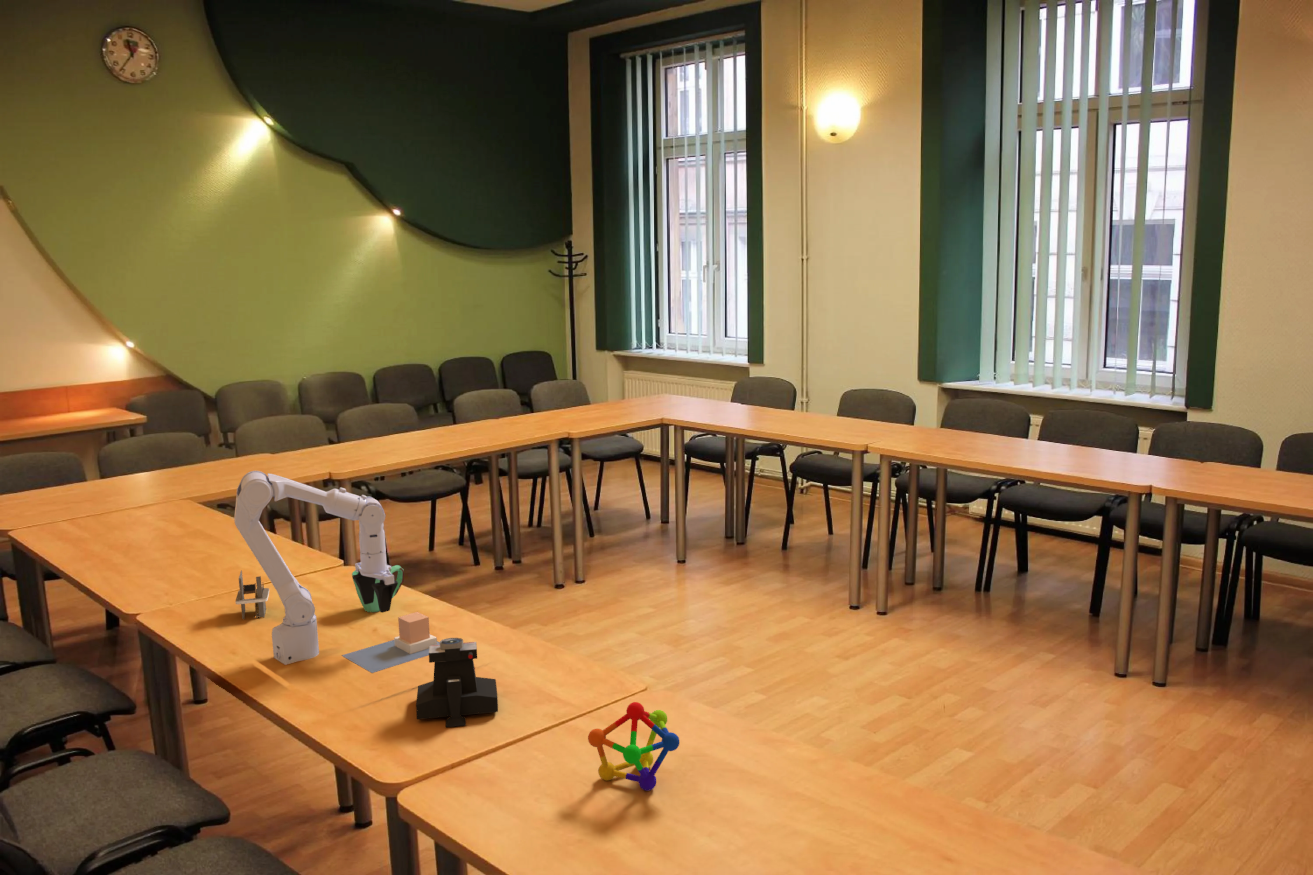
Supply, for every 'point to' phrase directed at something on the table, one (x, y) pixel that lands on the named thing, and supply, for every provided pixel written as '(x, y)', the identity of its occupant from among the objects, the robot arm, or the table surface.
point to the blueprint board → (391, 653)
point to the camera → (455, 685)
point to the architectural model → (259, 599)
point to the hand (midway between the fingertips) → (376, 607)
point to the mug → (374, 606)
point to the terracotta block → (414, 627)
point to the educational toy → (632, 752)
